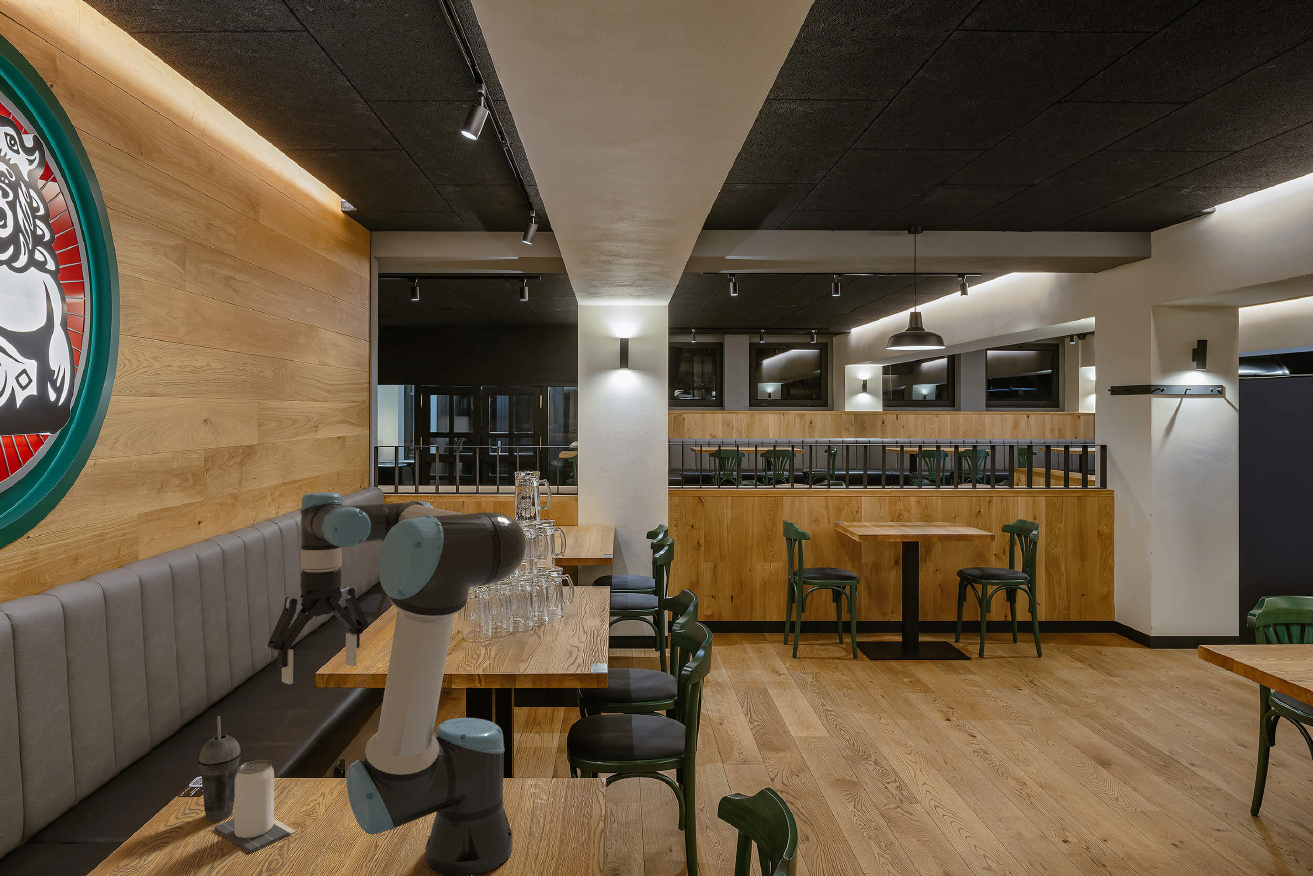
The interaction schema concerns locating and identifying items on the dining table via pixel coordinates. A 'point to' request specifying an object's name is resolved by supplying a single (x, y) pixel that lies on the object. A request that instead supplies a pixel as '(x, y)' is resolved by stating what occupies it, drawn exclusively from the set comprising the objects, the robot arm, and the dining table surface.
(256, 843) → the dark grey flat slab
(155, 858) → the dining table surface
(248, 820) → the can
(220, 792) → the beverage cup
